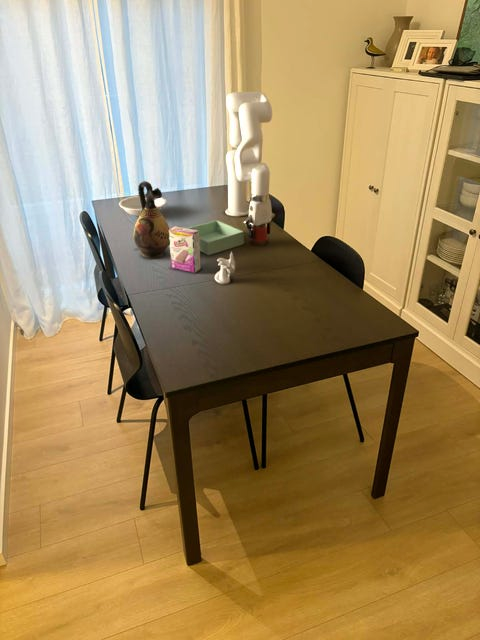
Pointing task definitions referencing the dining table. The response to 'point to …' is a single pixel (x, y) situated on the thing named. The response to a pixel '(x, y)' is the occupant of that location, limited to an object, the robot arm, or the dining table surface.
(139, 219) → the ceramic jug
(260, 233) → the red glass jar
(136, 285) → the dining table surface
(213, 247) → the green square tray
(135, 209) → the soup bowl
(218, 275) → the figurine
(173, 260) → the candy bar box
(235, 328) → the dining table surface
